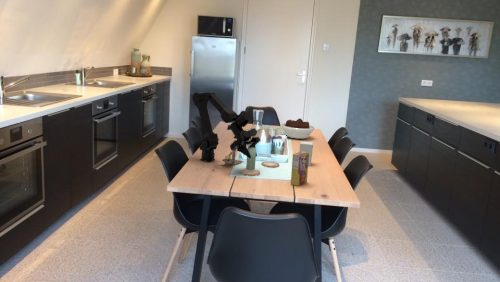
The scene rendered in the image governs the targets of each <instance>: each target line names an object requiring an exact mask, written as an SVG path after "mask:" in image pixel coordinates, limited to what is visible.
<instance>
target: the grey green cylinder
mask: <svg viewBox="0 0 500 282" xmlns="http://www.w3.org/2000/svg"><path fill="white" fill-rule="evenodd" d="M255 147H256V146H255ZM255 147H248V146H247V148H248V151H249V153H250V155H251V158H249V157H247V156H246V167H245V169H248V170H256V158H257V156H256V153H257V147H256V148H255Z"/></svg>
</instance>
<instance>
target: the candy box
mask: <svg viewBox="0 0 500 282" xmlns="http://www.w3.org/2000/svg"><path fill="white" fill-rule="evenodd" d="M291 160H292V161H291V172H290V173H291V175H290V176H291V177H290V185H293V186H296V187H298V186H301V185H304V184H307V183H308V174H309V166H308V161H309V153H307V152H295V153H293V154H292V159H291Z"/></svg>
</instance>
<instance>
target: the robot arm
mask: <svg viewBox="0 0 500 282" xmlns="http://www.w3.org/2000/svg"><path fill="white" fill-rule="evenodd" d="M191 97H192V101H193V104H194V106H196V108H197V109H198V113H199V118H200V122H201V126H202V130H203V135H202V142H201V144H200V145H199V146H198V147H199V148H198V149H199V150H200V151H201V158H200V159H199V160H200V161H203V162H207V163H208V162H209V163H210V162H213V161H215V160H216V158H215V156H216V155H215V150H217V147H218V145H219V144H220V143H219V141H220V139H219V136H218V133H215V132H214V131H213V127H212V123H211V120H210V119H211V118H210V114H209V111H208V104H209V102H210V103H211V105H212V106H213V108H215V109H216V110H217V111H218V113H219V114H220V118H221V119H222V121H223V122H224V123H225V124H227V129H226V130H227V131H231V132H232V134H233V139H234V140H233V141H232V142H231V144H229V148H230V150H231V151H232V150H235V149H236V147H237V148H238V149H236V151H238V152H239V153H241V154H243V155H244V156H245V157H246V158H247V157H249V158H251V155H250V153H249V151H248V147H255V148H256V149H257V147H256V145H257V144H259V143H260V141H261V139H260V137H259V136H257V134H258V131H257V129H256V128H255V127H253V128H250V130H247V129H244V128H245V127H246V126H248V124H249V123H250V122H251V121H252V120H253V118H252V116H251V114H249V113H248V112H246V111H245V110H241V111H240V113H239V114H237V112H235V111H234V110H233V109H232V108H229V107H227V106H226V104H225V103H224V102H223V101H222V100H221V99H220V98H219V97H218V96H217V95H216V93H215V92H214V91H207V92H204V91H201V92H199V91H198V92H193V94H192V96H191ZM229 123H231V124H229ZM235 139H236V140H235ZM257 156H258V153H257V152H256V157H257Z"/></svg>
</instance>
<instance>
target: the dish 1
mask: <svg viewBox="0 0 500 282" xmlns="http://www.w3.org/2000/svg"><path fill="white" fill-rule="evenodd" d="M240 174H241V175H244V176H247V175H248V176H249V177H255V175H257V176H259V175H260V174H261V172H260V170H258V169H254V170H248V169H246V168H243V169H241V170H240ZM248 176H247V177H248Z"/></svg>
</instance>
